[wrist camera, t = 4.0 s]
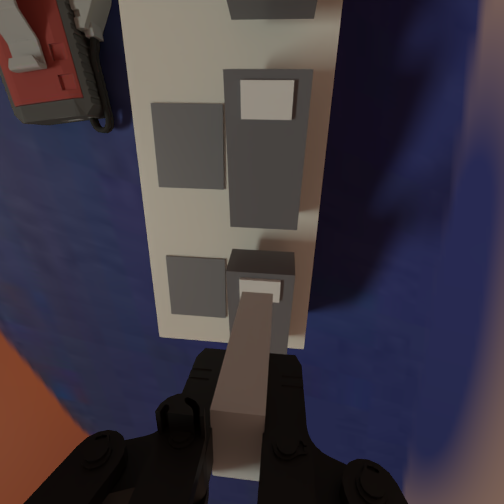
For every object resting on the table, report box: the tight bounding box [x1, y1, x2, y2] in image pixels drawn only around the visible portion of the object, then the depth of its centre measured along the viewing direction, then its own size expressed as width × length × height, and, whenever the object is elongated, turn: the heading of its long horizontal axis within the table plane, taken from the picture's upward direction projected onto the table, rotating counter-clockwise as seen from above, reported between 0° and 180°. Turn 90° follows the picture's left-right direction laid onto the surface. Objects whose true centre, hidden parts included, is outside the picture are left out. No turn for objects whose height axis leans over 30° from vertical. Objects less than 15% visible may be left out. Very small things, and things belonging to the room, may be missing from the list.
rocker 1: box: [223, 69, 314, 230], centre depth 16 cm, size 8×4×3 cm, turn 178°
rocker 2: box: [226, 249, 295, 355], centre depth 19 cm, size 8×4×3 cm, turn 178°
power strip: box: [119, 0, 343, 349], centre depth 19 cm, size 33×12×5 cm, turn 179°
